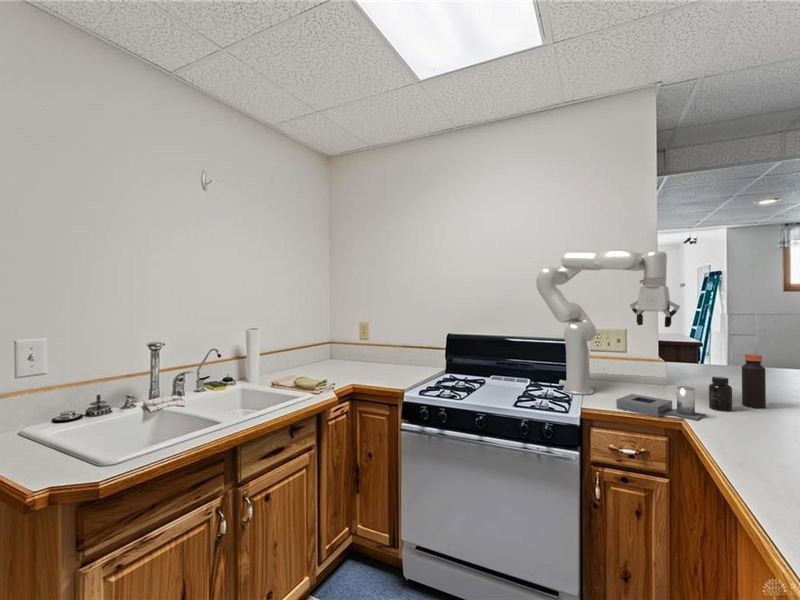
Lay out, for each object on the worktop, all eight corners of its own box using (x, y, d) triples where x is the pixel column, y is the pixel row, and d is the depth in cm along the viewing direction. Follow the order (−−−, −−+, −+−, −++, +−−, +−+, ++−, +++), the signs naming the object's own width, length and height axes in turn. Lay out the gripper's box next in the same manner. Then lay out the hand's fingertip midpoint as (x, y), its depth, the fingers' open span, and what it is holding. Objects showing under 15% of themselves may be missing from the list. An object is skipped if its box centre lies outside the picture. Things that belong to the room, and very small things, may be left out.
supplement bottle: (736, 412, 142) (736, 379, 142) (715, 411, 144) (715, 379, 144) (725, 407, 149) (724, 376, 149) (705, 406, 150) (704, 375, 150)
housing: (616, 408, 148) (616, 399, 148) (631, 402, 157) (631, 393, 157) (657, 417, 137) (657, 407, 137) (672, 409, 146) (672, 400, 146)
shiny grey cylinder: (674, 413, 140) (674, 387, 139) (679, 410, 143) (679, 385, 143) (692, 416, 135) (691, 390, 135) (697, 413, 139) (696, 387, 138)
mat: (666, 414, 140) (666, 413, 140) (675, 410, 145) (675, 408, 145) (697, 420, 133) (697, 419, 133) (705, 415, 138) (705, 414, 138)
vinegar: (770, 409, 145) (769, 356, 145) (749, 408, 147) (749, 355, 147) (757, 404, 152) (757, 353, 152) (737, 403, 153) (737, 353, 153)
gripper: (627, 282, 158) (625, 324, 158) (676, 282, 144) (675, 328, 144) (635, 283, 162) (634, 323, 163) (683, 282, 148) (682, 327, 149)
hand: (653, 325), depth 154 cm, fingers open, 9 cm apart
